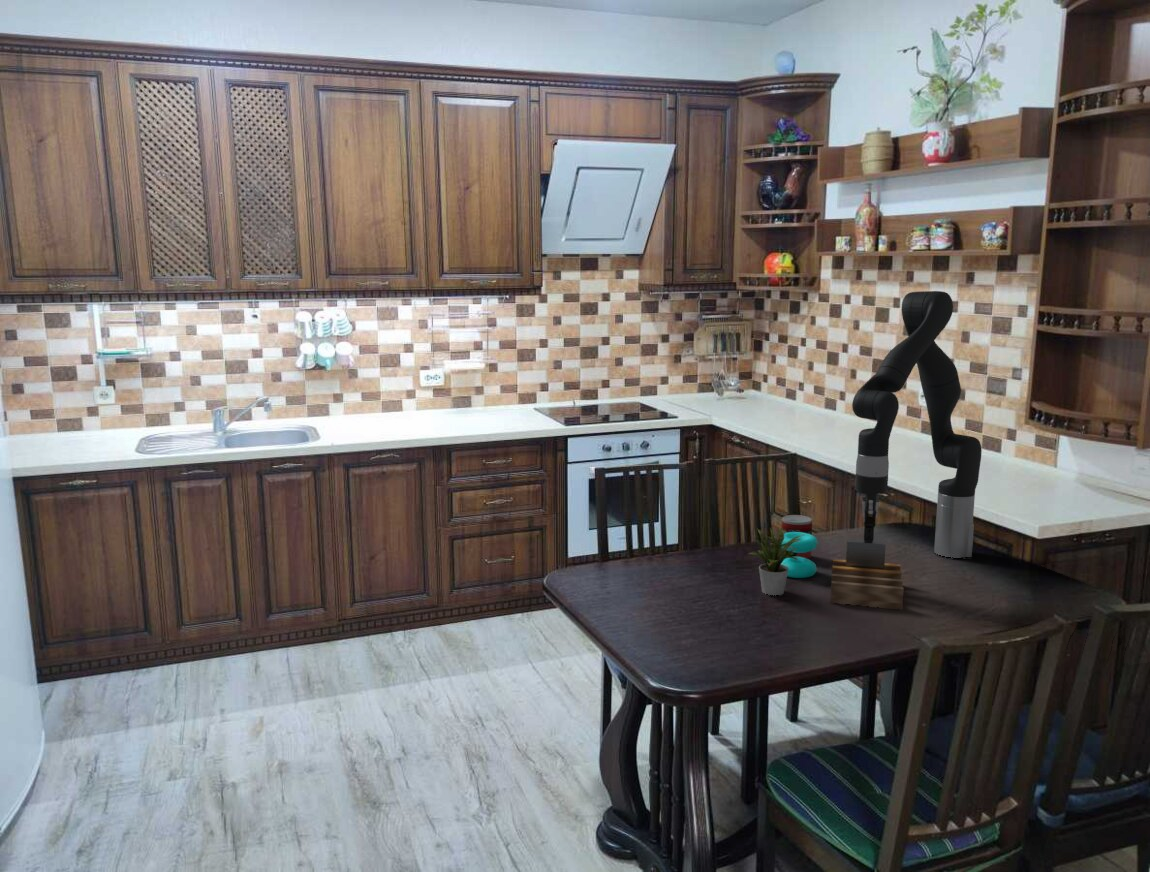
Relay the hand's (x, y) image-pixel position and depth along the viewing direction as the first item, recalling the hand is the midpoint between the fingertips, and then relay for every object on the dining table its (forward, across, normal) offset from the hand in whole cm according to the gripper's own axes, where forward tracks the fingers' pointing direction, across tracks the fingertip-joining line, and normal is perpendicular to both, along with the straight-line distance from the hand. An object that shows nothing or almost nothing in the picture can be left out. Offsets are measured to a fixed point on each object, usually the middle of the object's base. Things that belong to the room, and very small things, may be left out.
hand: (868, 540), depth 224 cm
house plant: (+12, -12, +21) cm, 27 cm away
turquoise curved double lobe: (+12, +5, +17) cm, 22 cm away
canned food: (+12, +18, +18) cm, 28 cm away
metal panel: (+10, 0, 0) cm, 10 cm away
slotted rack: (+12, -6, 0) cm, 13 cm away
